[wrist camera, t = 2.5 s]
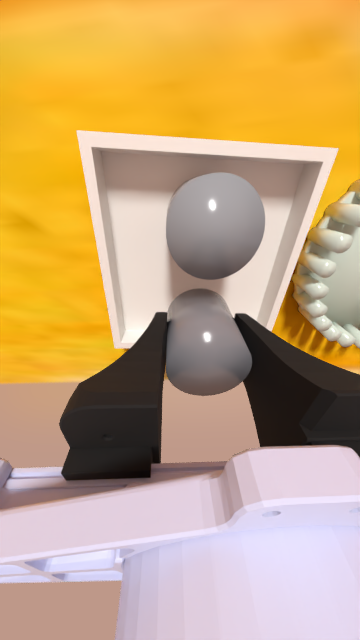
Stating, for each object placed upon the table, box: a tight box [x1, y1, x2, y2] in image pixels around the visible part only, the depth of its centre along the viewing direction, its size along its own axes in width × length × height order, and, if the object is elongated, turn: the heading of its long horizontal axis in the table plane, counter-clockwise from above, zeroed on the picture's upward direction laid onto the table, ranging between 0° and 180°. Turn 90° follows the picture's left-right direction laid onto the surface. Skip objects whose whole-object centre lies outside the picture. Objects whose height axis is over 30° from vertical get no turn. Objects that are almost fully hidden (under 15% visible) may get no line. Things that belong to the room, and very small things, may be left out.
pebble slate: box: [166, 172, 265, 280], centre depth 10 cm, size 4×4×4 cm
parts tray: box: [77, 130, 339, 348], centre depth 13 cm, size 12×12×2 cm
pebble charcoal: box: [166, 288, 252, 396], centre depth 11 cm, size 4×4×4 cm
